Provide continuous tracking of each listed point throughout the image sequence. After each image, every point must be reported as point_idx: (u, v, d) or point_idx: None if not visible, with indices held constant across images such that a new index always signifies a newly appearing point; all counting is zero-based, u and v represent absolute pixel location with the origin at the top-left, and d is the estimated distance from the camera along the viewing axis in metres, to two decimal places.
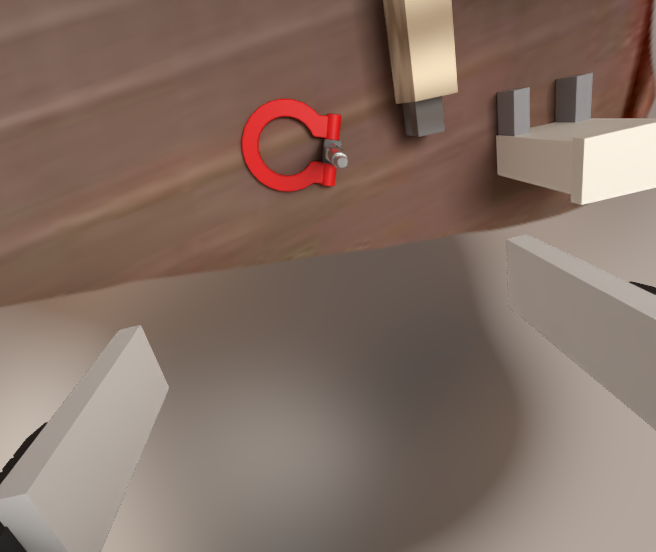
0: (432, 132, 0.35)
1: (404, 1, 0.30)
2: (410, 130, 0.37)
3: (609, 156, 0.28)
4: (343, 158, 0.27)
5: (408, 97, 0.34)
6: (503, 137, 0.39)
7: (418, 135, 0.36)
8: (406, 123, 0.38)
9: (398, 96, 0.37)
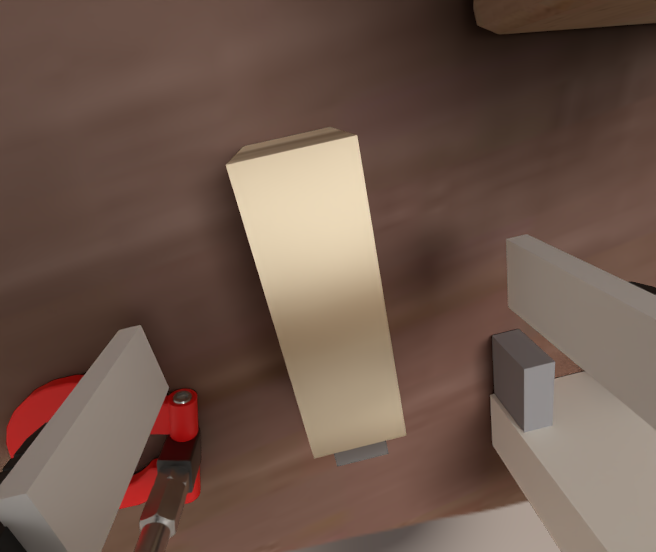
0: (364, 458, 0.18)
1: (264, 292, 0.12)
2: None
3: None
4: None
5: None
6: (503, 413, 0.21)
7: None
8: None
9: None
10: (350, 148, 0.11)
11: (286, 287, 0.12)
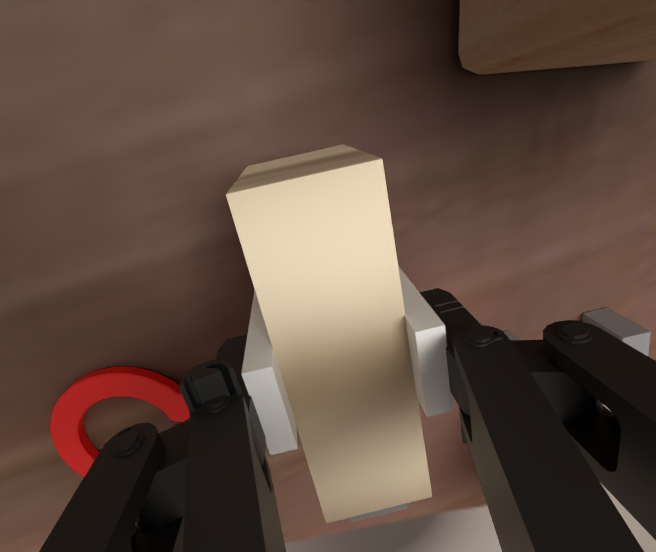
0: (380, 513, 0.16)
1: (271, 340, 0.10)
2: None
3: None
4: None
5: None
6: None
7: (350, 517, 0.16)
8: None
9: None
10: (374, 173, 0.09)
11: (296, 333, 0.10)
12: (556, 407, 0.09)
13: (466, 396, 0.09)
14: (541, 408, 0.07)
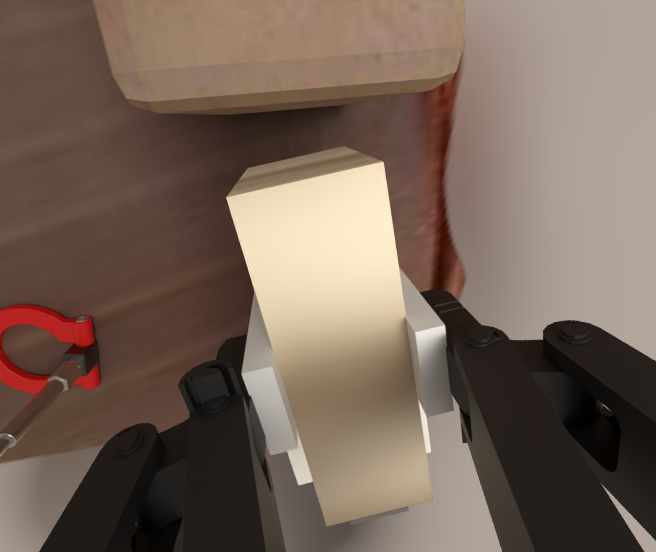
0: (381, 515, 0.16)
1: (271, 343, 0.10)
2: None
3: None
4: None
5: None
6: None
7: (350, 519, 0.16)
8: None
9: None
10: (375, 176, 0.09)
11: (297, 336, 0.10)
12: (556, 407, 0.09)
13: (466, 396, 0.09)
14: (541, 408, 0.07)
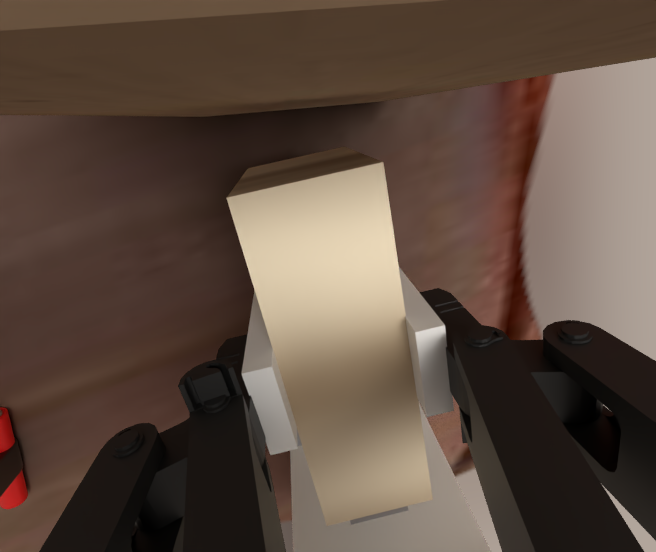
0: (381, 515, 0.16)
1: (271, 343, 0.10)
2: None
3: None
4: None
5: None
6: None
7: None
8: None
9: None
10: (375, 177, 0.09)
11: (296, 337, 0.10)
12: (556, 407, 0.09)
13: (466, 396, 0.09)
14: (541, 408, 0.07)
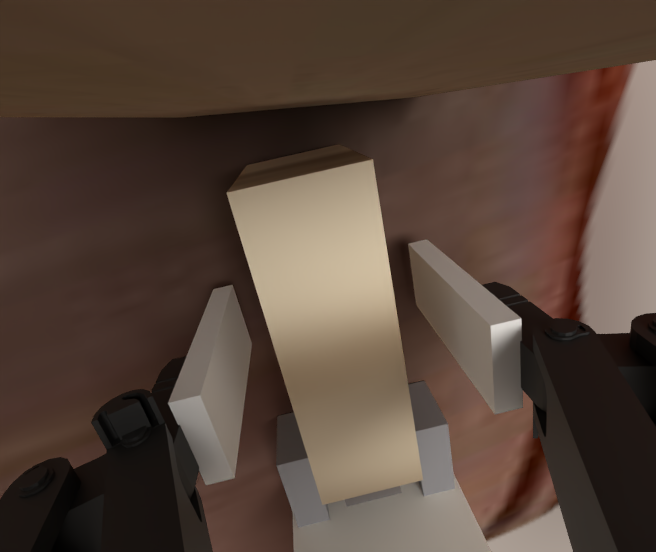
0: (375, 497, 0.17)
1: (269, 330, 0.11)
2: None
3: None
4: None
5: None
6: None
7: None
8: None
9: None
10: (365, 173, 0.10)
11: (293, 324, 0.11)
12: (647, 404, 0.08)
13: (542, 389, 0.09)
14: (631, 407, 0.07)
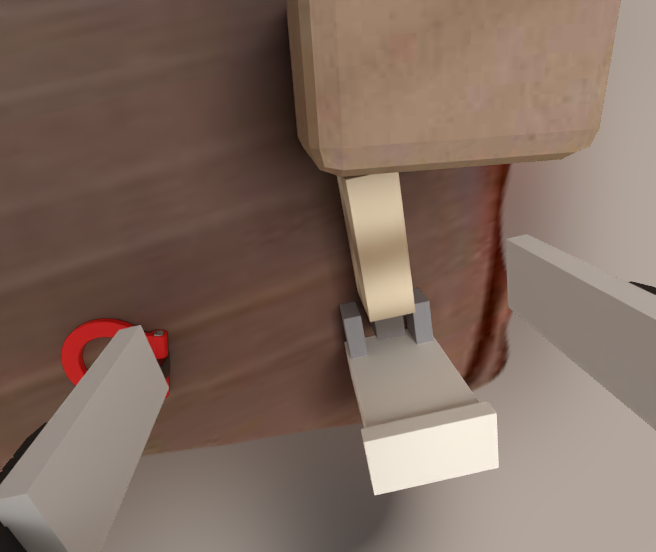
0: (392, 336, 0.34)
1: (355, 235, 0.28)
2: (371, 323, 0.35)
3: (396, 455, 0.26)
4: None
5: (365, 308, 0.32)
6: (346, 351, 0.37)
7: (377, 338, 0.34)
8: None
9: (358, 290, 0.35)
10: (395, 173, 0.27)
11: (364, 232, 0.28)
12: None
13: None
14: None
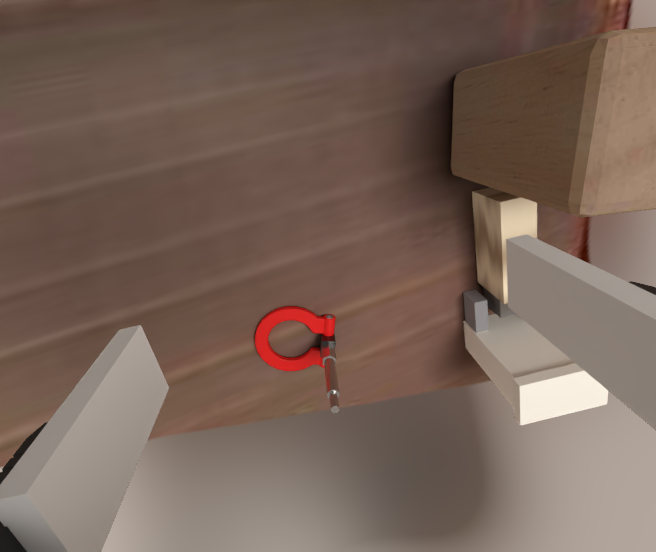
0: (511, 314, 0.45)
1: (500, 240, 0.39)
2: (490, 305, 0.46)
3: (539, 395, 0.37)
4: (335, 407, 0.36)
5: (495, 294, 0.43)
6: (468, 327, 0.48)
7: (500, 316, 0.45)
8: (486, 297, 0.47)
9: (482, 281, 0.46)
10: None
11: (508, 238, 0.39)
12: None
13: None
14: None
